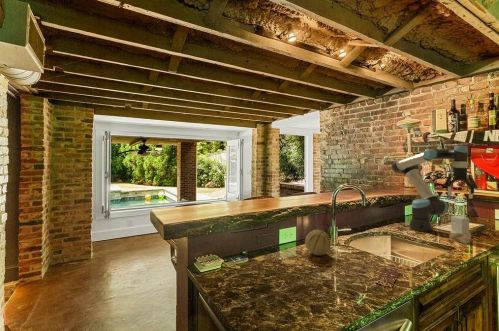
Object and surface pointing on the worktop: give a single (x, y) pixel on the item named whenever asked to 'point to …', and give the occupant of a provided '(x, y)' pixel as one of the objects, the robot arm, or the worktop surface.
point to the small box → (460, 224)
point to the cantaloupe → (317, 242)
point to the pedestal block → (460, 237)
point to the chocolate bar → (388, 275)
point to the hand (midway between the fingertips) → (459, 196)
